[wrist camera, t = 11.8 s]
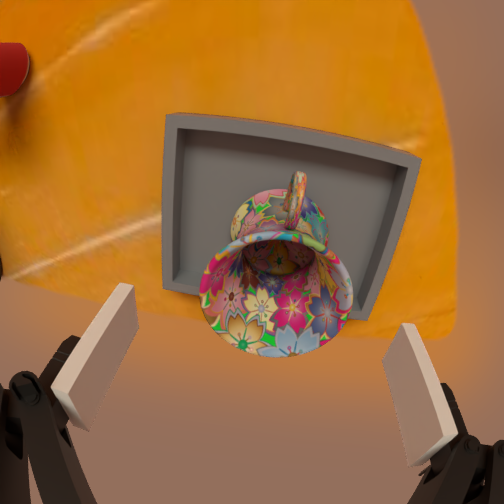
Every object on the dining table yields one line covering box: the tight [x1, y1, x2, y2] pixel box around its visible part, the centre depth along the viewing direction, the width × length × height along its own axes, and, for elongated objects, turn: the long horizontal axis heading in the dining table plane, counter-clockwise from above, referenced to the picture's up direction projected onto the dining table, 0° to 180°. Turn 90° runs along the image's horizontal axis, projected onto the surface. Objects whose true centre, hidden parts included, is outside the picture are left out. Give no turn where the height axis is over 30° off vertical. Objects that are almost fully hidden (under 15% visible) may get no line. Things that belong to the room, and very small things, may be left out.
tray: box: [162, 113, 422, 321], centre depth 26 cm, size 20×16×3 cm
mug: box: [199, 171, 353, 357], centre depth 22 cm, size 12×9×11 cm
